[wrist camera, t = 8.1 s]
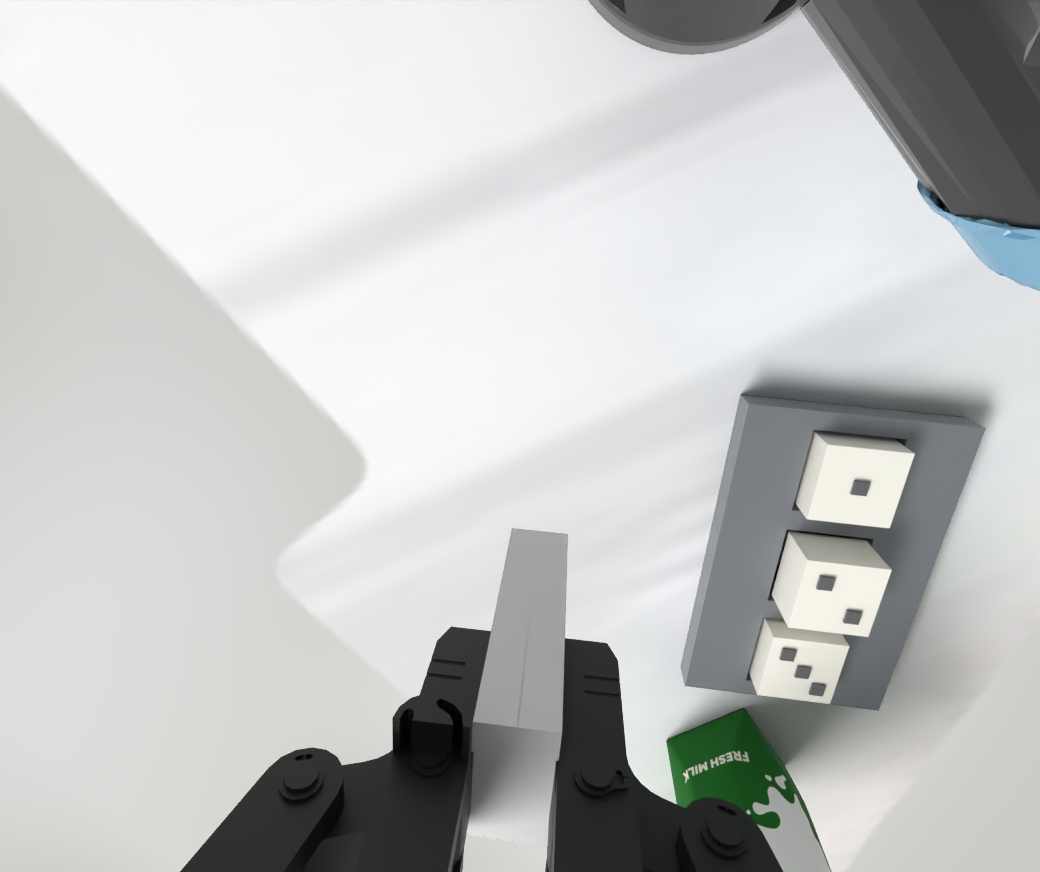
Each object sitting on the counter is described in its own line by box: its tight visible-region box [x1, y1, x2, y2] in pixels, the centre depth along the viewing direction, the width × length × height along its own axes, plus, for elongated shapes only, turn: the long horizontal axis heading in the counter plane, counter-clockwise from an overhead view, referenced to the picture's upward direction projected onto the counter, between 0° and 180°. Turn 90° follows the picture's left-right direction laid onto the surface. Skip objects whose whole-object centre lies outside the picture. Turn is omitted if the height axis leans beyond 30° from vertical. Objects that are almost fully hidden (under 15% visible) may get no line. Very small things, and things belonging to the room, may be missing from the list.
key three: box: [749, 617, 850, 704], centre depth 43 cm, size 5×5×4 cm
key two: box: [772, 532, 892, 637], centre depth 39 cm, size 5×5×4 cm
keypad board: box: [681, 395, 985, 710], centre depth 42 cm, size 22×14×2 cm, turn 175°
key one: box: [794, 430, 915, 528], centre depth 38 cm, size 5×5×4 cm
